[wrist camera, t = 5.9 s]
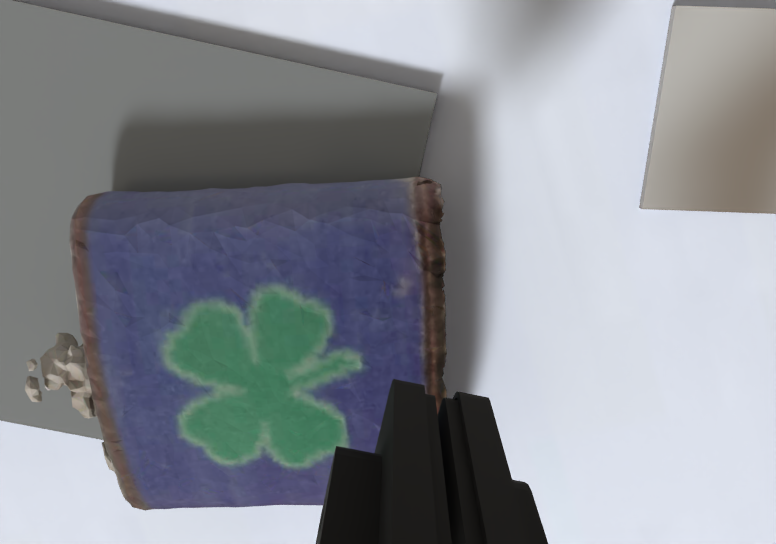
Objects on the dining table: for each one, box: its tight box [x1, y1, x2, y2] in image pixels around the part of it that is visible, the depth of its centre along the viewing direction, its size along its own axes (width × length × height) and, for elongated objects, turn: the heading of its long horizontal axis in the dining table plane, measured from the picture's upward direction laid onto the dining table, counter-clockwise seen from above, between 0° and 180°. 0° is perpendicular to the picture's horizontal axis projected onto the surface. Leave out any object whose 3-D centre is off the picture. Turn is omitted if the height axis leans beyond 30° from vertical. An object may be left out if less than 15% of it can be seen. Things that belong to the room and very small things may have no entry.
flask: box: [25, 177, 447, 510], centre depth 16 cm, size 9×3×11 cm
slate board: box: [0, 0, 437, 440], centre depth 17 cm, size 17×12×1 cm
